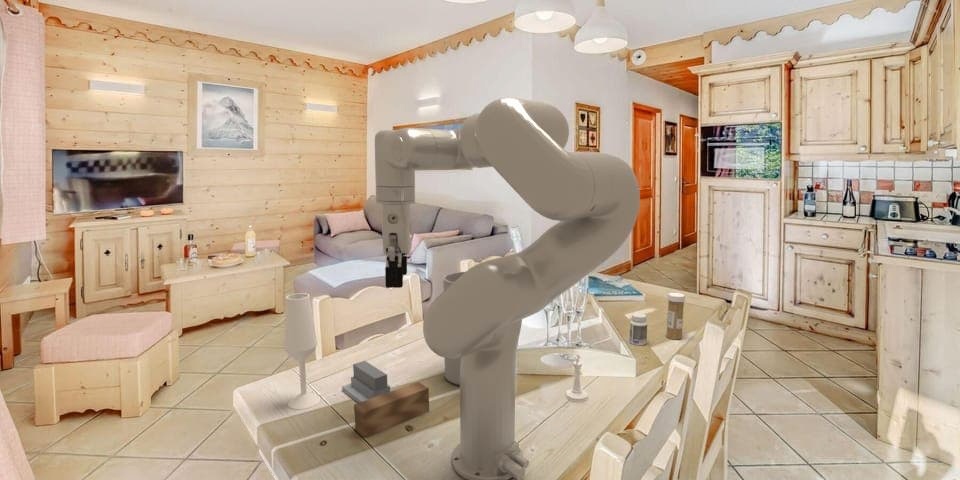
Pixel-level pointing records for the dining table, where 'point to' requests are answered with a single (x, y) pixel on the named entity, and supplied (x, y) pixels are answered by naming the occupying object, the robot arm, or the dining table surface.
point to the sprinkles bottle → (675, 315)
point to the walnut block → (391, 409)
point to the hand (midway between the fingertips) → (396, 280)
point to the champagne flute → (300, 342)
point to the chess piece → (576, 384)
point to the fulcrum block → (366, 382)
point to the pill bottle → (638, 329)
